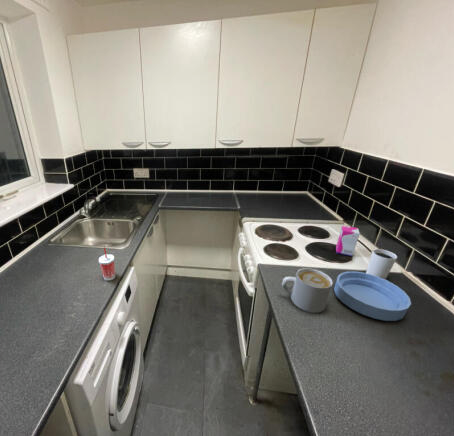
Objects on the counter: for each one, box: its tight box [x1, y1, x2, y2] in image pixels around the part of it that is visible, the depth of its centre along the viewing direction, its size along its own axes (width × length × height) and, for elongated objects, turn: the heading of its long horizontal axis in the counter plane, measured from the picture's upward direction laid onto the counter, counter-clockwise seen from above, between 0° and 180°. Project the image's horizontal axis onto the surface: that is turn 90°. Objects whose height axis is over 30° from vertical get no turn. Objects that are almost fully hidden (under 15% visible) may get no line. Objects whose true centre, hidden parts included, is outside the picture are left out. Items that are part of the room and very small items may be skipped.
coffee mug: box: [281, 267, 334, 314], centre depth 76 cm, size 13×10×10 cm
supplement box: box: [335, 225, 361, 257], centre depth 101 cm, size 6×6×12 cm
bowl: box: [333, 271, 412, 322], centre depth 76 cm, size 18×18×5 cm
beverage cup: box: [98, 247, 116, 282], centre depth 91 cm, size 6×6×14 cm
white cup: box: [365, 248, 398, 280], centre depth 86 cm, size 7×7×10 cm
